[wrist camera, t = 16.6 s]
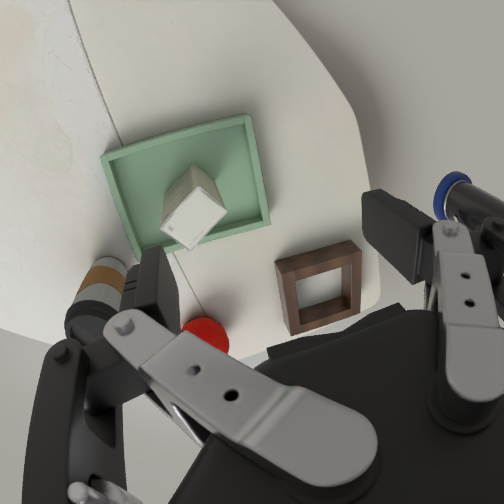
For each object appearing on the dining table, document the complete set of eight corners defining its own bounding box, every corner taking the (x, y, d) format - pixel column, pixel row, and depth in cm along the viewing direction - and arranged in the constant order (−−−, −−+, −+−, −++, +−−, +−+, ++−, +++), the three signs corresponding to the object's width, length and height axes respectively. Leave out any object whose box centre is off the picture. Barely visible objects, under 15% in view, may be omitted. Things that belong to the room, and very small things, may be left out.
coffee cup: (109, 302, 50) (96, 369, 37) (75, 268, 46) (49, 331, 33) (145, 277, 49) (138, 343, 36) (110, 239, 45) (89, 299, 32)
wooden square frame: (350, 239, 54) (361, 250, 51) (351, 300, 61) (360, 313, 58) (274, 261, 53) (281, 274, 49) (284, 322, 60) (290, 336, 56)
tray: (246, 113, 41) (250, 114, 38) (266, 217, 49) (271, 225, 46) (104, 152, 39) (99, 156, 36) (139, 252, 47) (137, 261, 44)
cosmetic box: (186, 212, 45) (189, 254, 34) (162, 193, 43) (157, 230, 32) (216, 180, 43) (229, 212, 33) (193, 159, 41) (198, 185, 31)
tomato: (221, 348, 60) (227, 377, 53) (175, 346, 57) (177, 376, 51) (230, 310, 56) (238, 340, 49) (179, 307, 53) (181, 337, 47)
